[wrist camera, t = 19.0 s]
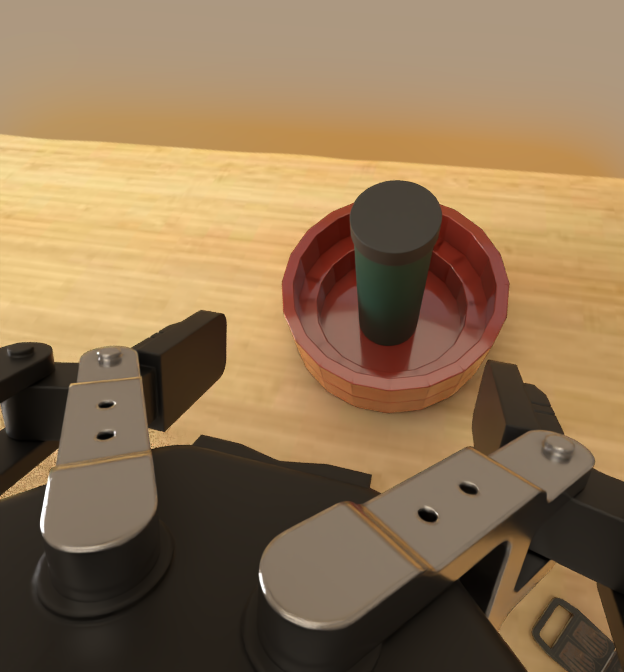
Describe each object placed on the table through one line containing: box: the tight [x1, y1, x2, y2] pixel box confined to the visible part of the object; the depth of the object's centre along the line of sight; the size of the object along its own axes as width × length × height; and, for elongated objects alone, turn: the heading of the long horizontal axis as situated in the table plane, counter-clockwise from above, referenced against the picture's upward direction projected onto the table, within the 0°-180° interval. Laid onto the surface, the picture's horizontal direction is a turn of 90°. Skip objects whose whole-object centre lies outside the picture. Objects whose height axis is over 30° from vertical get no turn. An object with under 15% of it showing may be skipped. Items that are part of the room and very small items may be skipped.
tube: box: [350, 180, 442, 346], centre depth 29 cm, size 5×5×12 cm
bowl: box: [282, 203, 509, 413], centre depth 32 cm, size 15×15×6 cm
